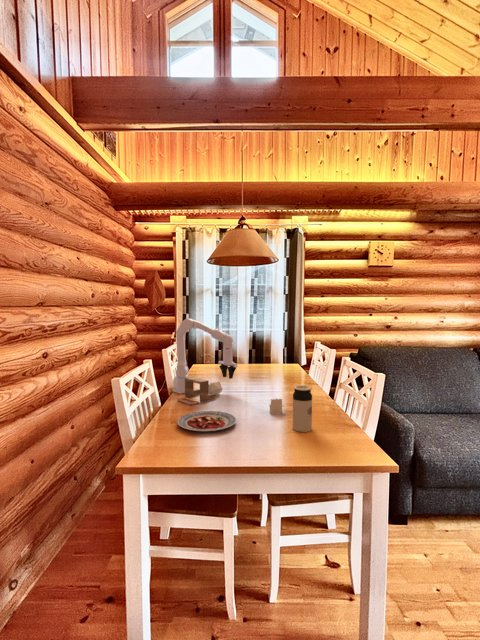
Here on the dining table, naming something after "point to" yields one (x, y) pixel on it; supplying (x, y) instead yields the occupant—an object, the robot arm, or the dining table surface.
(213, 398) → the tunnel lane
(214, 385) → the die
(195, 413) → the ceramic plate
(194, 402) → the trap pit
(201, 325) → the robot arm
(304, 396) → the travel mug
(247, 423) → the dining table surface
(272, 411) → the architectural model
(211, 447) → the dining table surface
